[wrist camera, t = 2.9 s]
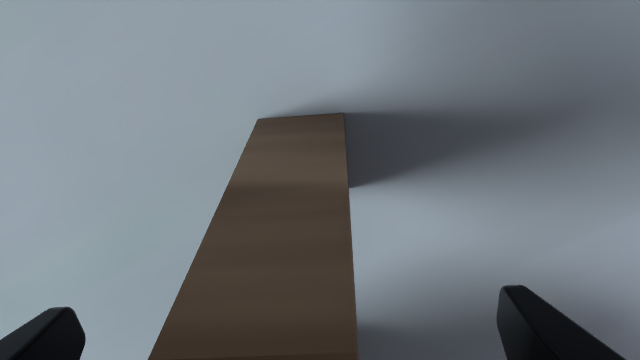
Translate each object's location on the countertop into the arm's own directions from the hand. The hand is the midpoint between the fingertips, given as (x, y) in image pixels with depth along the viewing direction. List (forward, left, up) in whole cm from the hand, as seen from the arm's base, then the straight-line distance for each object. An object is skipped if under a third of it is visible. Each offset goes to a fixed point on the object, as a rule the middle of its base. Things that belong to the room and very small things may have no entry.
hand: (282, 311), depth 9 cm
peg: (0, 0, -8) cm, 8 cm away
